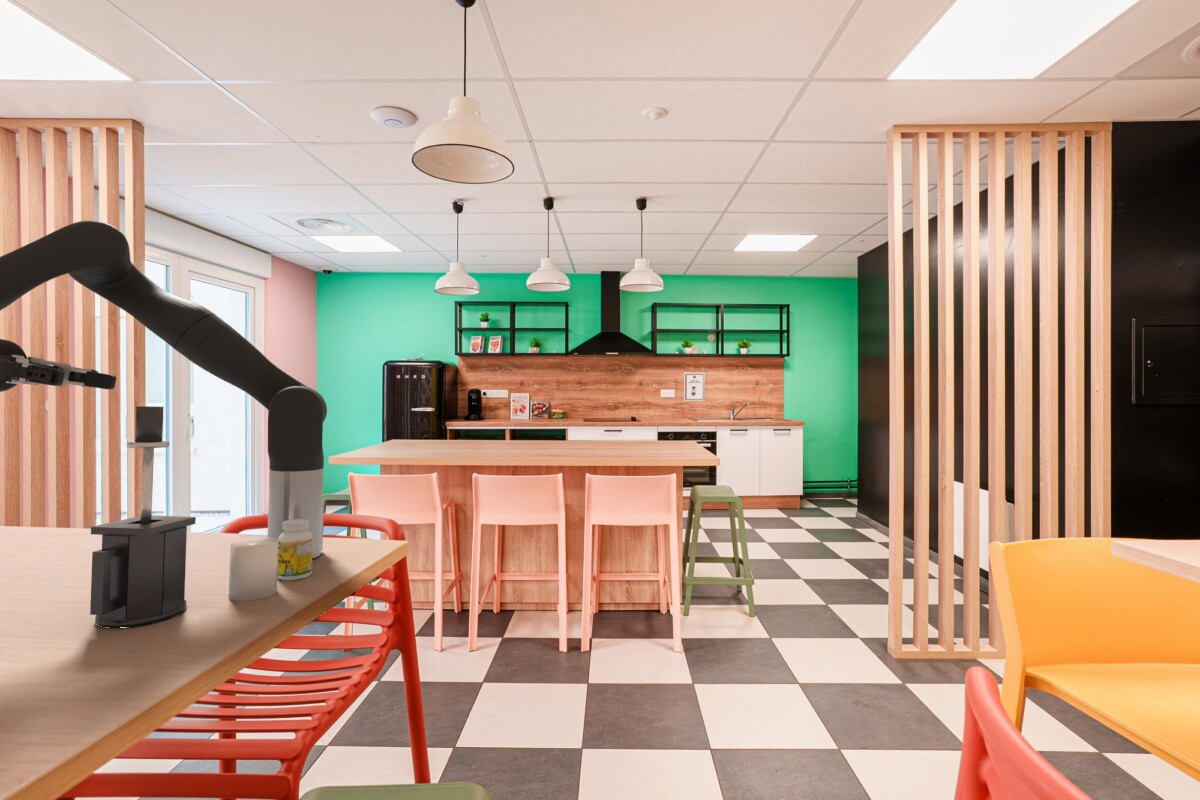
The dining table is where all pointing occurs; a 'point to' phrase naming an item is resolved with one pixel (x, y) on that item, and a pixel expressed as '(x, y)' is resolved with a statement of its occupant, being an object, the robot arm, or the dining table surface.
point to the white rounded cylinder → (253, 569)
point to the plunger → (148, 451)
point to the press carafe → (139, 571)
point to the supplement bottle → (295, 550)
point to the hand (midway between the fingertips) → (89, 380)
